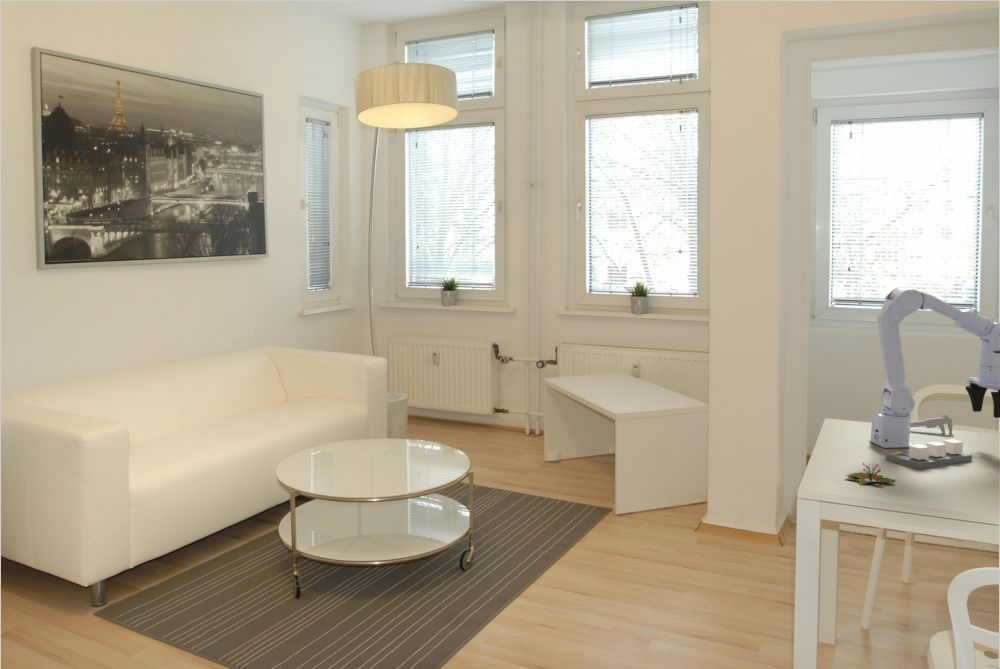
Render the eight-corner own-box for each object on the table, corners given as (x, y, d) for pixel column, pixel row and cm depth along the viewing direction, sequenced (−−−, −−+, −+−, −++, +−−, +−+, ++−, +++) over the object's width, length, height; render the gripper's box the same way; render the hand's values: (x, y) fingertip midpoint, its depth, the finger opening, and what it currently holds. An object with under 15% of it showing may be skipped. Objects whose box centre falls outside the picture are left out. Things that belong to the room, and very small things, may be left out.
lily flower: (906, 482, 201) (907, 464, 200) (885, 493, 193) (886, 474, 192) (856, 472, 209) (857, 454, 209) (834, 481, 201) (836, 463, 201)
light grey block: (918, 459, 212) (919, 448, 212) (908, 456, 215) (909, 445, 215) (928, 458, 214) (929, 446, 213) (918, 455, 216) (919, 444, 216)
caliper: (951, 434, 249) (952, 413, 248) (951, 435, 248) (953, 414, 247) (876, 428, 255) (878, 408, 254) (877, 429, 254) (878, 409, 253)
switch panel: (918, 469, 210) (919, 463, 210) (885, 459, 219) (885, 453, 219) (971, 460, 219) (971, 454, 219) (937, 451, 228) (937, 445, 228)
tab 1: (936, 457, 215) (937, 445, 215) (925, 454, 218) (926, 443, 217) (945, 455, 217) (946, 444, 216) (935, 452, 219) (936, 441, 219)
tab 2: (953, 454, 218) (954, 443, 217) (942, 451, 220) (943, 440, 220) (962, 452, 219) (963, 441, 219) (951, 450, 222) (952, 439, 222)
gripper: (1025, 370, 223) (1020, 419, 224) (984, 361, 237) (980, 408, 238) (1002, 370, 221) (998, 420, 223) (962, 362, 235) (958, 409, 237)
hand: (987, 414), depth 231 cm, fingers open, 7 cm apart
